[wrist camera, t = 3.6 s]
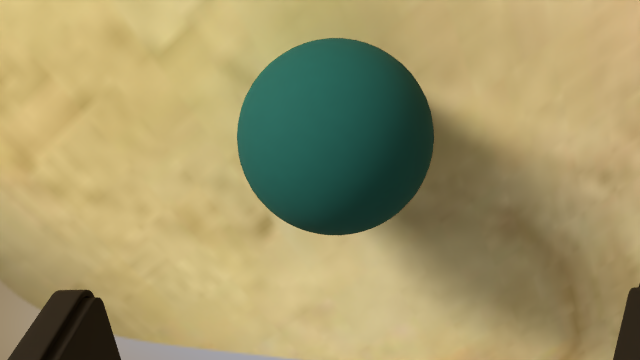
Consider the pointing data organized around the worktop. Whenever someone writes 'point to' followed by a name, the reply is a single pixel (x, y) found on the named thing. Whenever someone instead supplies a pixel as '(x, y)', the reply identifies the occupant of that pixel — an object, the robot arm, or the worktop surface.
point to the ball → (335, 136)
